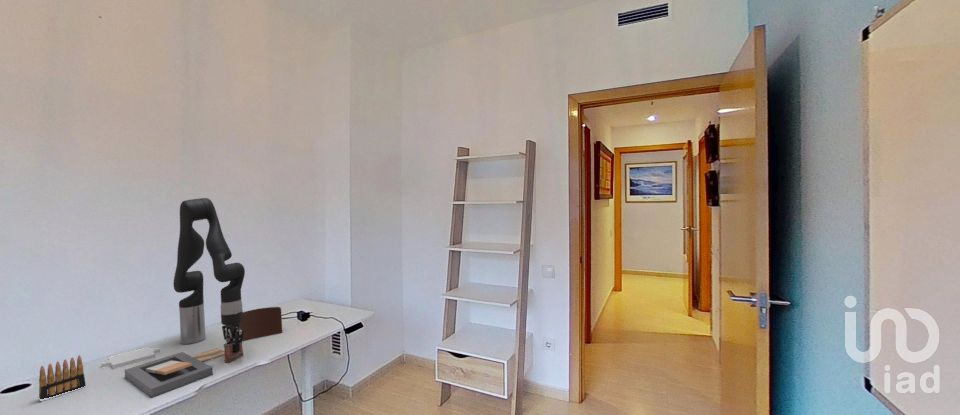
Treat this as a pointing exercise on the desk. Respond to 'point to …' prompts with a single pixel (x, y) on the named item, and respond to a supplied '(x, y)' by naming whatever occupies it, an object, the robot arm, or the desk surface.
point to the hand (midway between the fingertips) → (233, 351)
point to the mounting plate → (130, 357)
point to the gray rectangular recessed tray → (167, 375)
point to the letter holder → (261, 322)
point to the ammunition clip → (65, 384)
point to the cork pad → (209, 355)
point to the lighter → (231, 351)
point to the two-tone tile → (168, 367)
